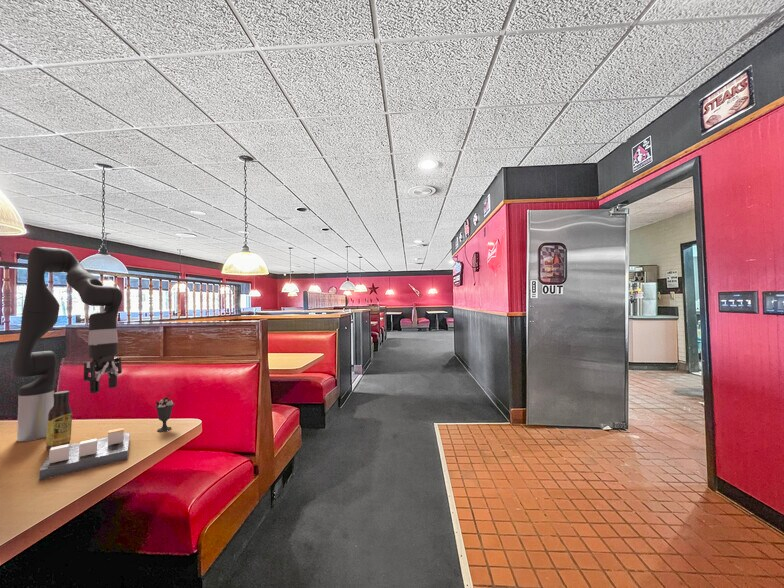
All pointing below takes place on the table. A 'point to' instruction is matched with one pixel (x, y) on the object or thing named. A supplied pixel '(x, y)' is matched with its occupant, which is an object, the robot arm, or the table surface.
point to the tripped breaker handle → (115, 436)
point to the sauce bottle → (59, 421)
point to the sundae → (164, 412)
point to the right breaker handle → (59, 453)
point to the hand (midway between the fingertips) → (104, 390)
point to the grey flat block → (86, 458)
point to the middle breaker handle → (87, 447)
